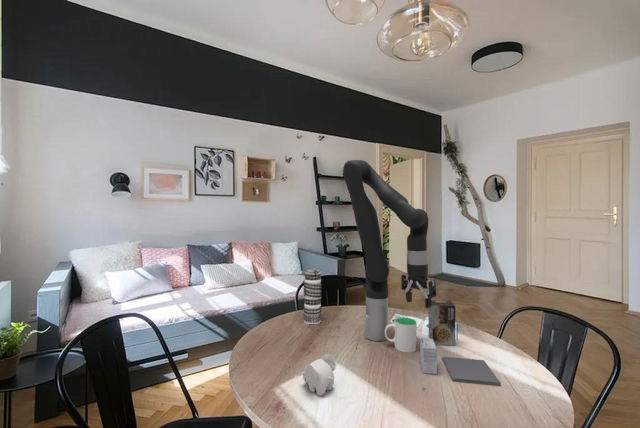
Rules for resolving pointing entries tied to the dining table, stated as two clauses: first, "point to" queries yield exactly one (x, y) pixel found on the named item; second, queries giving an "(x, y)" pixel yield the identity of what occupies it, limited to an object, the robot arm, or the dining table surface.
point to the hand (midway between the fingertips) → (418, 304)
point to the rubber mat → (470, 371)
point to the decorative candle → (312, 296)
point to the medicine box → (428, 355)
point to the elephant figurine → (320, 374)
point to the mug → (404, 334)
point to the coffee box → (442, 322)
